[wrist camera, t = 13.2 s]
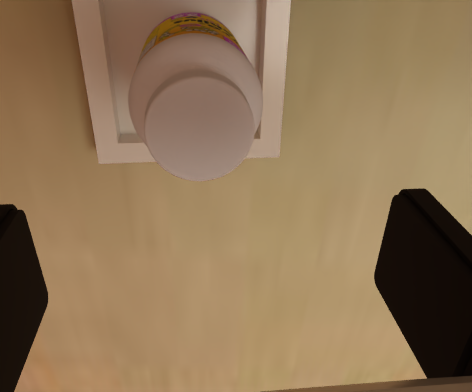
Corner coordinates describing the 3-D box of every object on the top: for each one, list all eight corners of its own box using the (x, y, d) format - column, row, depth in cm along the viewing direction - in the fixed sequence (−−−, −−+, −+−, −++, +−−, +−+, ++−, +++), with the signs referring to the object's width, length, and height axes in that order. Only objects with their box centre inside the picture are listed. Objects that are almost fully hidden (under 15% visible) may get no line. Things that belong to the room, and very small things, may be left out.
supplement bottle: (258, 44, 29) (310, 105, 18) (210, 125, 31) (229, 222, 20) (169, -13, 26) (165, 17, 15) (125, 80, 29) (93, 163, 18)
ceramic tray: (284, -46, 27) (294, -46, 25) (272, 143, 33) (279, 156, 31) (73, -49, 25) (63, -49, 23) (104, 149, 32) (98, 163, 30)
